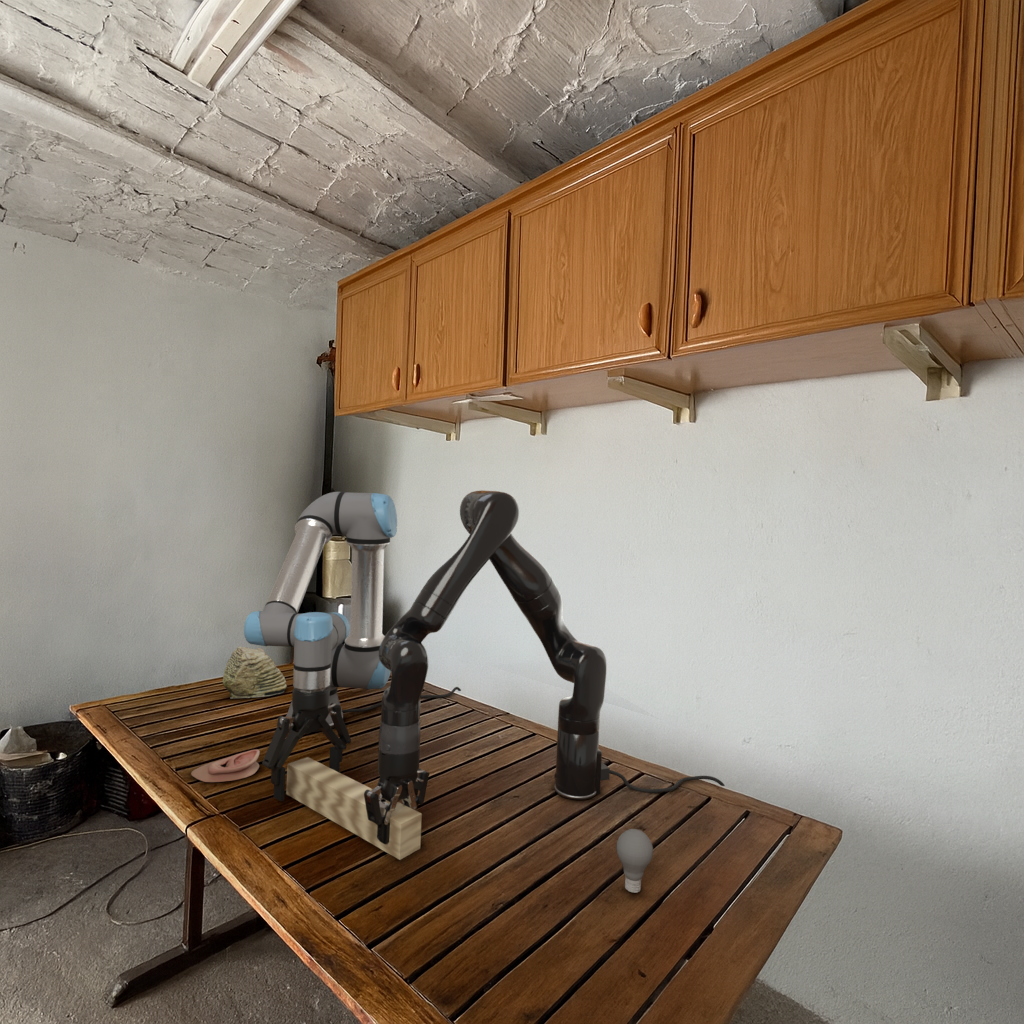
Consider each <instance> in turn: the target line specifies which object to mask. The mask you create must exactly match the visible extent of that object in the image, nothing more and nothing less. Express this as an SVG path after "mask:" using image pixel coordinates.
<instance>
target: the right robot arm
mask: <svg viewBox="0 0 1024 1024" xmlns="http://www.w3.org/2000/svg"><path fill="white" fill-rule="evenodd" d="M518 504H519V503H518V502H517V500H516V498H514V497H513V496H512V495H511V494H509V493H507V492H504V491H497V490H482V489H481V490H475V491H471V492H469V493H467V494H466V495H464V497H463V499H462V500H461V503H460V506H459V517H460V521H461V523H462V525H463V528H464V529H465V530H466V532H467V533H468V534H469V535H468V537H467V538H466V539H465V541H464V543H463V544H462V545H461V547H460V548H458V549H457V551H456V552H455V553H454V554H453V555H452V556H451V557H450V558H449V559H447V560H446V562H444V563H443V564H442V565H440V567H438V568H437V570H436V571H435V572H434V573H433V574H432V575H431V576H430V577H429V579H428V580H427V581H426V582H425V584H424V585H423V587H422V589H421V590H420V592H419V593H418V595H417V596H416V598H415V599H414V601H413V603H412V604H411V607H410V608H409V609H408V610H407V612H405V613H404V614H403V615H401V616H400V618H399V619H398V620H397V621H396V622H395V623H394V625H393V626H392V627H391V628H390V629H389V630H388V631H387V633H386V634H385V635H384V636H385V637H384V639H383V640H382V643H381V645H380V648H379V659H380V662H381V663H382V665H383V666H384V667H385V668H387V669H389V670H390V671H391V679H390V684H389V685H390V686H388V687H386V689H385V690H384V691H383V693H382V697H381V702H382V705H381V708H380V709H381V712H380V715H381V716H380V724H379V725H380V726H379V732H378V749H377V750H378V751H377V755H378V756H377V772H378V775H379V778H378V782H377V785H376V787H374V788H372V789H373V790H371V791H370V790H366V791H365V792H364V798H365V804H366V810H367V816H368V820H369V821H372V822H374V823H375V824H377V839H378V840H379V841H380V842H382V843H383V844H387V843H389V836H390V823H389V821H390V818H391V814H392V812H393V811H394V810H395V808H396V804H397V802H400V801H401V802H402V803H401V804H403V805H405V806H407V807H409V808H411V809H413V810H415V811H417V808H418V806H419V805H420V806H422V805H423V804H424V802H425V799H426V798H425V797H426V793H427V788H428V784H429V778H430V771H429V772H428V771H426V770H424V769H422V768H420V760H421V759H420V758H421V757H420V755H421V736H422V735H421V733H422V732H421V720H420V719H421V698H420V697H421V695H423V691H424V687H425V683H426V680H427V676H428V670H429V653H428V649H427V648H426V646H425V645H424V643H423V642H424V640H425V639H426V638H427V637H428V635H430V634H435V633H438V632H440V630H442V628H443V627H444V626H445V624H446V622H447V621H448V619H449V617H450V615H451V614H452V612H453V611H454V609H455V608H456V606H457V604H458V603H459V601H460V599H461V598H462V596H463V594H464V593H465V592H466V590H467V588H468V587H469V586H470V584H471V583H472V582H473V580H474V579H475V578H476V576H477V575H478V574H479V572H480V571H481V570H482V569H483V567H485V565H487V563H488V562H489V561H490V564H492V566H493V568H494V569H495V571H496V573H497V574H498V576H499V578H500V579H501V581H502V582H503V584H504V586H505V587H506V589H507V590H508V592H509V594H510V596H511V598H512V600H513V601H514V603H515V604H516V606H517V607H518V608H519V610H520V611H521V613H522V614H523V616H524V617H525V619H526V621H527V622H528V624H529V625H530V627H531V628H532V630H533V631H534V633H535V634H536V636H537V638H538V639H539V641H540V642H541V644H542V647H543V649H544V651H545V653H546V655H547V657H548V659H549V661H550V664H551V665H552V667H553V670H554V672H556V674H557V675H558V676H559V677H560V678H561V679H563V680H564V681H566V682H569V683H572V684H573V688H572V689H573V690H572V695H569V696H566V697H563V698H561V699H560V700H559V702H558V713H557V715H558V717H557V738H556V756H555V757H556V758H555V772H554V791H555V793H556V794H558V795H559V796H560V797H562V798H564V799H568V800H572V801H584V800H585V801H586V800H590V799H592V798H594V797H596V795H601V782H602V781H609V780H610V775H612V776H613V775H614V776H615V777H618V778H620V779H621V780H622V782H623V783H624V785H625V786H626V787H627V788H629V789H631V790H633V791H636V792H637V791H638V792H642V793H643V792H644V793H649V794H658V793H659V794H660V793H668V792H673V791H674V790H676V789H678V787H680V785H681V784H683V783H684V782H689V781H696V780H697V781H699V780H708V781H713V782H715V783H717V784H718V785H719V786H721V787H725V786H726V785H725V784H724V783H723V781H721V780H720V779H719V778H718V777H714V776H711V775H694V776H687V777H683V778H680V779H679V780H678V781H676V783H675V784H674V785H672V786H670V787H662V788H642V787H638V786H634V785H632V784H631V783H630V782H629V781H628V780H627V778H626V777H625V775H623V774H621V773H620V772H618V771H615V770H612V769H611V768H610V766H609V767H608V766H607V765H606V764H605V763H604V762H603V761H602V759H603V752H602V750H601V749H599V747H600V746H599V743H600V725H601V724H600V722H601V721H600V720H601V710H602V707H603V704H604V701H605V693H606V685H607V684H606V683H607V673H608V662H607V656H606V653H605V652H604V650H603V649H602V648H600V647H598V646H596V645H593V644H590V643H587V642H583V641H581V640H578V639H577V638H576V637H575V636H574V635H573V633H572V632H571V631H570V629H569V627H568V626H567V624H566V622H565V620H564V617H563V612H564V611H563V608H564V606H563V605H564V604H563V603H564V602H563V597H562V593H561V592H560V589H559V588H558V586H557V585H556V583H555V580H553V579H554V578H552V576H551V574H550V572H549V571H548V570H547V569H546V567H545V566H544V564H542V563H541V562H540V561H539V560H538V559H537V558H536V557H535V556H534V555H532V553H530V552H529V551H528V550H527V549H526V548H525V547H524V546H523V545H521V543H520V542H518V540H517V539H516V538H515V537H514V535H513V531H514V530H515V528H516V527H517V525H518V522H519V518H520V508H519V505H518ZM386 800H387V801H389V802H390V804H388V803H386ZM384 810H386V812H385V815H383V814H384Z"/></svg>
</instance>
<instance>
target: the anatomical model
mask: <svg viewBox="0 0 1024 1024" xmlns="http://www.w3.org/2000/svg"><path fill="white" fill-rule="evenodd" d="M260 754H261V752H260V749H257V748H256V749H251V750H247V751H243V752H240V753H236V754H234V755H231V756H228V757H225V758H222V759H219V760H216V761H211V762H209V763H206V764H204V765H201V766H198V767H197V768H195V769H193V770H192V771H191V773H190V775H191V776H192V777H193V778H194V779H196V780H198V781H201V782H203V783H221V782H230V781H231V782H233V781H237V780H241V779H246V778H248V777H250V776H253V775H254V774H256V772H257V771H258V770H259V768H260V764H259V762H258V759H259V757H260Z"/></svg>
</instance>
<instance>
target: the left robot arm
mask: <svg viewBox="0 0 1024 1024" xmlns="http://www.w3.org/2000/svg"><path fill="white" fill-rule="evenodd" d="M394 502H395V501H394V500H393V498H392V497H391V496H390V495H388V494H386V493H377V492H346V491H332V492H329V493H326V494H323V495H321V496H319V497H318V498H316V499H314V500H313V501H312V502H311V503H310V504H309V505H308V506H307V507H306V508H305V509H304V510H303V511H302V512H301V514H300V515H299V517H298V518H297V521H296V523H295V525H294V533H295V536H294V538H293V540H292V542H291V545H290V547H289V550H288V552H287V554H286V556H285V559H284V561H283V563H282V566H281V568H280V570H279V573H278V575H277V578H276V580H275V582H274V584H273V587H272V589H271V591H270V594H269V596H268V598H267V600H266V602H265V604H264V607H263V609H262V610H258V611H251V612H250V613H249V614H248V615H247V617H246V619H245V621H244V625H243V627H244V628H243V635H244V638H245V640H246V642H247V643H248V644H250V645H254V646H263V647H289V648H293V671H292V672H293V673H292V674H293V675H292V687H293V689H292V692H291V693H292V694H291V695H292V697H291V702H290V704H289V708H288V711H287V713H286V715H285V716H283V715H279V716H278V717H277V722H276V729H275V730H274V734H273V735H272V738H271V740H270V743H269V745H268V747H267V750H266V752H265V755H264V757H263V759H262V762H261V765H262V766H264V767H265V768H267V769H268V770H270V782H271V784H272V785H273V798H274V799H276V800H278V801H279V802H283V801H285V795H286V770H287V767H284V764H285V763H286V761H287V760H288V758H289V757H290V755H291V753H292V752H293V750H294V749H295V747H296V746H297V744H298V742H299V740H301V739H302V738H303V737H304V735H308V734H312V733H316V732H321V733H323V735H324V736H325V737H326V738H327V739H328V741H329V742H330V743H331V745H332V746H331V747H329V760H328V767H329V768H331V769H333V770H335V771H337V772H339V773H340V769H341V763H342V762H343V756H344V755H343V754H344V753H343V752H344V751H345V750H346V749H347V745H350V744H351V742H352V738H351V735H350V733H349V730H348V728H347V726H346V723H345V720H344V714H345V713H347V714H348V713H361V712H367V711H371V710H373V709H375V708H378V707H382V701H380V702H378V703H376V704H373V705H370V706H367V707H363V708H349V709H342V706H341V702H340V699H339V695H338V688H344V689H345V688H346V689H347V688H348V689H364V690H367V691H368V690H381V689H383V688H384V687H385V686H386V685H387V684H388V681H389V678H390V675H391V673H392V671H390V670H389V669H387V668H385V667H384V666H383V665H382V663H381V662H380V659H379V648H380V645H381V643H382V640H383V639H384V637H385V635H384V634H383V620H384V619H383V616H384V612H383V611H384V576H385V572H384V571H385V548H386V547H388V545H390V543H391V539H392V538H394V537H395V536H396V535H397V531H398V528H397V527H398V515H397V509H396V504H395V503H394ZM335 535H340V536H346V544H347V545H348V546H349V547H350V548H351V585H350V586H351V588H350V600H351V601H350V622H349V620H348V618H347V617H346V616H345V615H344V614H342V613H340V612H336V611H335V612H333V611H332V612H320V611H313V612H312V611H309V612H305V613H303V612H302V613H299V610H300V608H301V605H302V603H303V600H304V597H305V595H306V592H307V589H308V587H309V585H310V583H311V579H312V577H313V575H314V572H315V569H316V567H317V564H318V562H319V559H320V557H321V555H322V551H323V549H324V547H325V545H326V544H328V543H329V542H330V541H331V540H332V537H333V536H335ZM456 690H457V692H461V691H462V689H461V688H460V687H459V686H455V687H453V689H452V690H451V691H450V692H448V693H446V694H421V697H420V699H441V698H447V697H450V696H452V695H453V694H454V693H455V692H456ZM334 729H335V730H334ZM335 731H336V732H335ZM336 733H337V734H336Z"/></svg>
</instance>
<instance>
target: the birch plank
mask: <svg viewBox="0 0 1024 1024" xmlns="http://www.w3.org/2000/svg"><path fill="white" fill-rule="evenodd" d="M373 789H374V788H371V787H369V786H367V785H365V784H363V783H361V782H359V781H357V780H355V779H353V778H351V777H349V776H347V775H345V774H344V773H341V772H340V771H339V772H337V771H335V770H333V769H331V768H329V766H327V765H324V764H323V763H321V762H319V761H316V760H314V759H313V758H311V757H309V756H306V757H304V758H301V759H298V760H295V761H291V762H289V763H287V765H286V787H285V795H286V796H288V797H291V798H292V799H294V800H296V801H298V802H299V803H300V804H302V805H304V806H306V807H307V808H309V809H311V810H313V811H314V812H316V813H317V814H320V815H321V816H323V817H325V818H326V819H328V820H330V821H332V822H333V823H335V824H336V825H339V826H341V827H342V828H343V829H346V830H347V831H349V832H351V833H352V834H354V835H355V836H357V837H360V838H361V839H363V840H364V841H366V842H368V843H369V844H371V845H373V846H375V847H376V848H378V849H379V850H382V851H383V852H385V853H387V854H388V855H390V856H392V857H393V858H396V859H397V860H398V861H401V860H403V859H404V858H406V857H408V856H410V855H411V854H413V853H415V852H417V851H419V850H421V842H422V841H421V840H422V818H423V817H422V816H423V814H422V813H421V812H419V811H418V810H416V811H415V810H413V809H411V808H409V807H407V806H405V805H403V803H401V802H400V801H398V802H397V804H396V808H395V810H394V811H393V812H392V814H391V818H390V821H389V823H390V836H389V843H387V844H383V843H382V842H380V841H379V840H378V839H377V824H375V823H374V822H372V821H369V820H368V816H367V810H366V804H365V798H364V792H365V791H366V790H370V791H371V790H373ZM386 803H388V804H390V802H389V801H387V800H386ZM385 812H386V810H384V814H383V815H385Z"/></svg>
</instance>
